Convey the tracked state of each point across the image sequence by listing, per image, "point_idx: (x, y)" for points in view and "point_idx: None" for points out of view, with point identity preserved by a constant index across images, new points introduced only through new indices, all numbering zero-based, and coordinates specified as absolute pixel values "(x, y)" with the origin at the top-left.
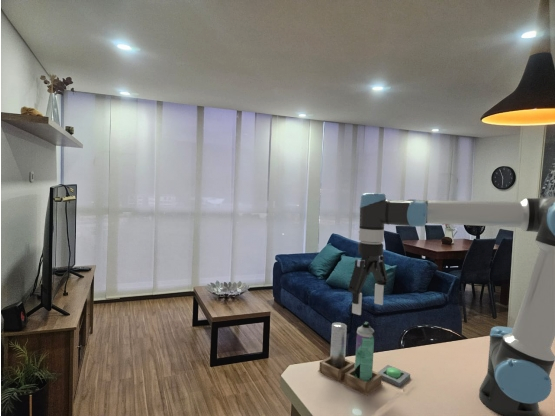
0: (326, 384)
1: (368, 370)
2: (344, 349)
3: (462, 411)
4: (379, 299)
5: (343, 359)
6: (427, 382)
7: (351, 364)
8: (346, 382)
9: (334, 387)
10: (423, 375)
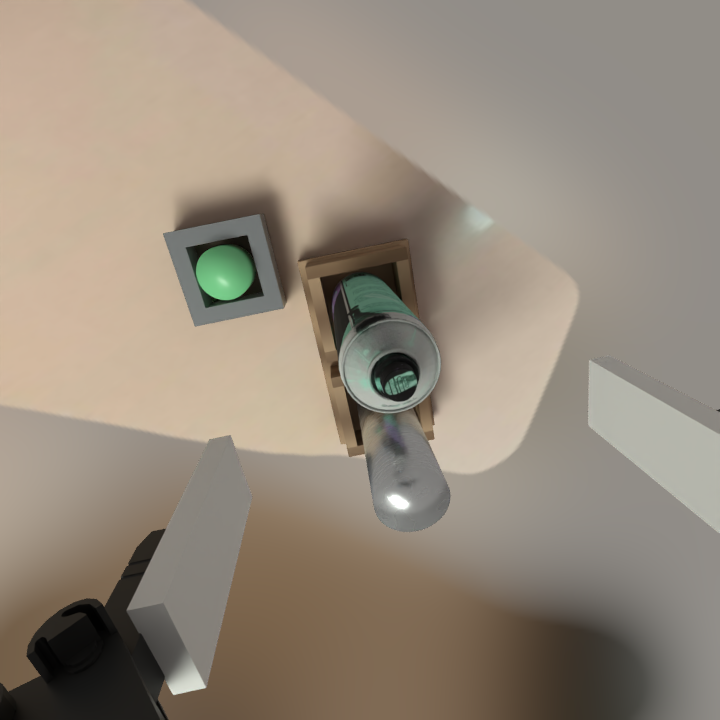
0: (448, 365)
1: (378, 282)
2: (388, 413)
3: None
4: (227, 486)
5: None
6: (111, 187)
7: None
8: None
9: (440, 341)
10: (83, 229)
